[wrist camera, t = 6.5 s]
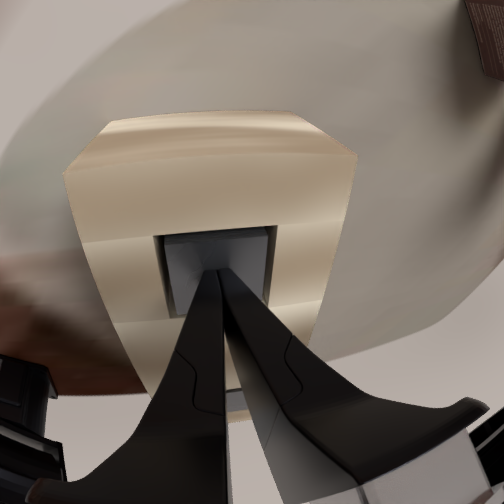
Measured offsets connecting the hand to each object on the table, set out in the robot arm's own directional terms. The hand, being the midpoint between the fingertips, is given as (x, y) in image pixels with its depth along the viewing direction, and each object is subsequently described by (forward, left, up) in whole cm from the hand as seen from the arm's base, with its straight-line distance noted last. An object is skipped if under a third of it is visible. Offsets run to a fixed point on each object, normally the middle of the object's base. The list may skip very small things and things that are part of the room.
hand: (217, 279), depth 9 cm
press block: (-5, -2, -6) cm, 8 cm away
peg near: (0, 0, -5) cm, 5 cm away
